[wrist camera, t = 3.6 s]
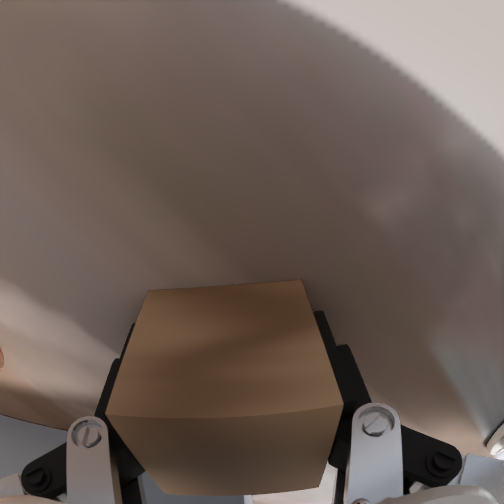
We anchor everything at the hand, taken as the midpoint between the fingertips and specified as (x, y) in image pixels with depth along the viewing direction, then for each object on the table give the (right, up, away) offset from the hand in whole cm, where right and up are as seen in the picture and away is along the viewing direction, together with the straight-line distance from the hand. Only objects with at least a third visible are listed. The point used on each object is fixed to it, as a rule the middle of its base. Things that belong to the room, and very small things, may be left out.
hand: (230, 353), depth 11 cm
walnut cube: (0, 0, 0) cm, 1 cm away
